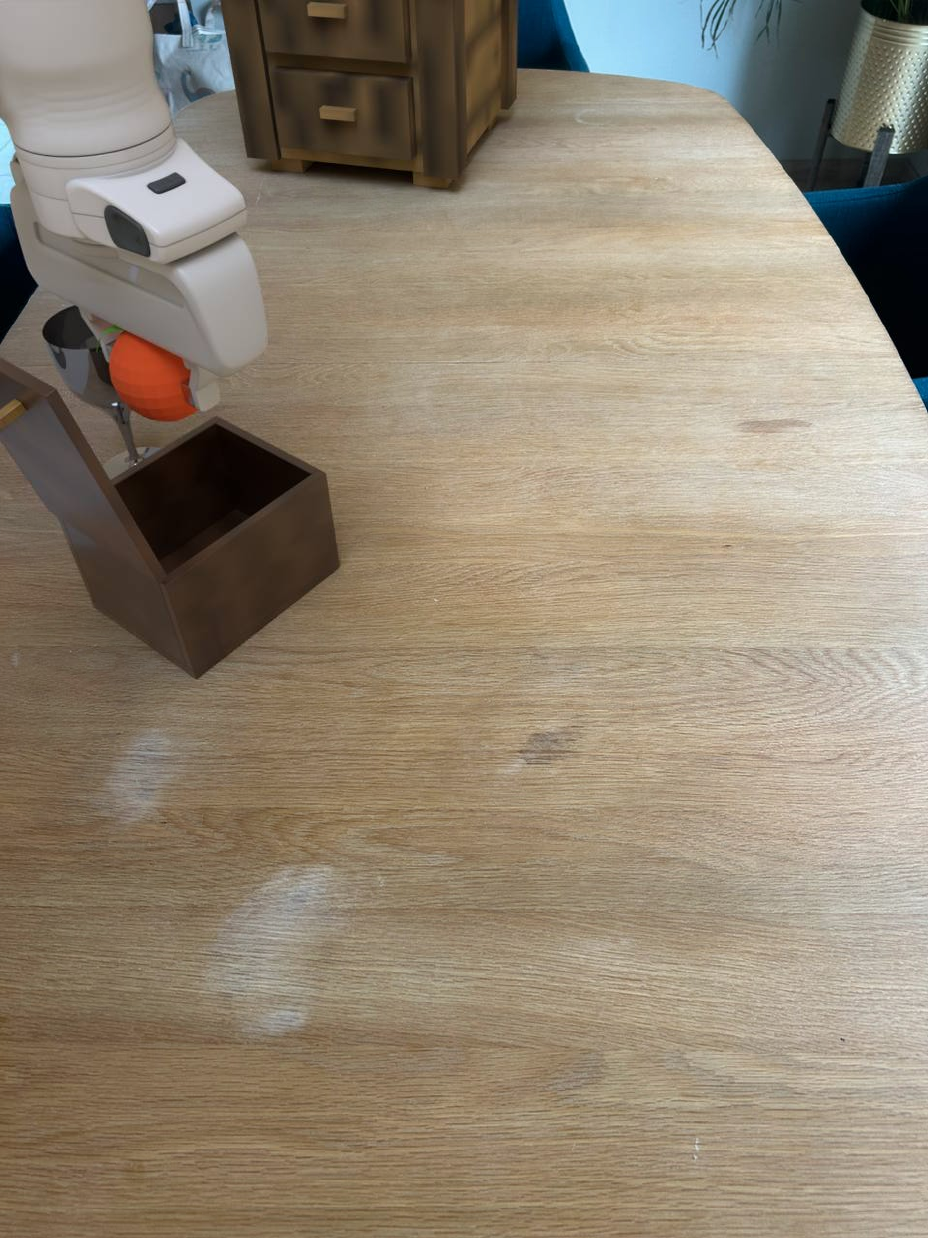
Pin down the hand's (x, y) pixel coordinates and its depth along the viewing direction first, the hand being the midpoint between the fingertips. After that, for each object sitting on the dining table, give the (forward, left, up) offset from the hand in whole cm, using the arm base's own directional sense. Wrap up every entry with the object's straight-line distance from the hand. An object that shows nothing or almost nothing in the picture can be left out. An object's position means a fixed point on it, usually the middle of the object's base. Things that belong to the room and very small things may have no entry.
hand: (163, 383), depth 68 cm
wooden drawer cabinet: (-51, +78, -19) cm, 95 cm away
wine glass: (-18, +6, -19) cm, 27 cm away
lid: (0, -9, -1) cm, 9 cm away
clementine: (0, 0, -3) cm, 3 cm away
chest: (0, 0, -19) cm, 19 cm away
